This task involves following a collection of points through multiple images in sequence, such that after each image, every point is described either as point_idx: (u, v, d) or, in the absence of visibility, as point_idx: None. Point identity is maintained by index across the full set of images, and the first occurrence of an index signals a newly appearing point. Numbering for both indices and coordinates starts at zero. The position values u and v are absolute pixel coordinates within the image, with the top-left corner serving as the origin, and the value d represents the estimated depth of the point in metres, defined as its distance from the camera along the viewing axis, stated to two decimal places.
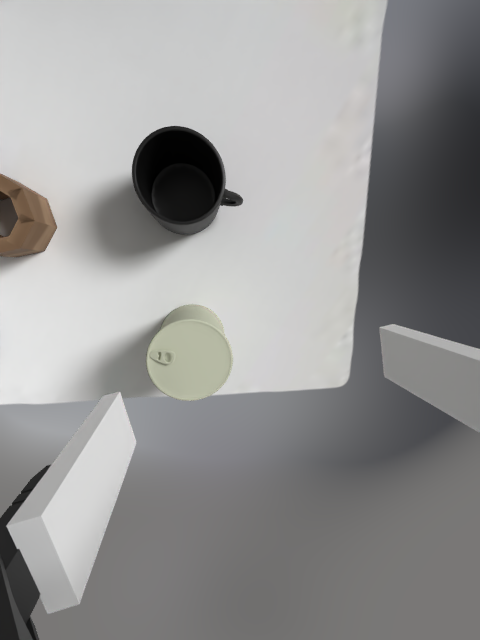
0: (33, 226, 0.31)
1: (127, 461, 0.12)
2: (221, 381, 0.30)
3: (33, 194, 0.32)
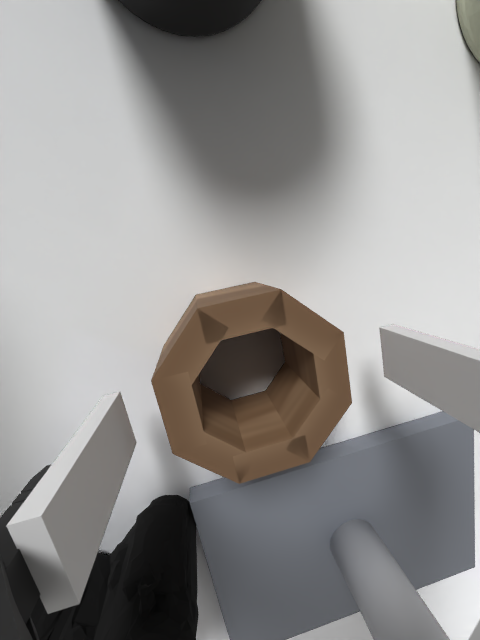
0: None
1: (127, 461, 0.12)
2: None
3: (200, 300, 0.13)
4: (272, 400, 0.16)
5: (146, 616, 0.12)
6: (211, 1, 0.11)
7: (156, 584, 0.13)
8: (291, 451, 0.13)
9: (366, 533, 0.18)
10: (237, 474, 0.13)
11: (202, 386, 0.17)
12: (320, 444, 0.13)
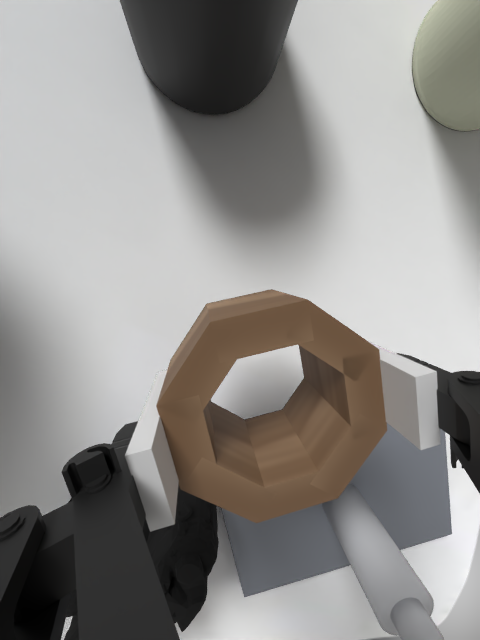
0: None
1: None
2: None
3: (213, 311, 0.11)
4: (291, 421, 0.14)
5: (183, 535, 0.17)
6: (228, 97, 0.17)
7: (189, 515, 0.18)
8: (317, 486, 0.11)
9: (351, 492, 0.23)
10: (254, 512, 0.11)
11: (213, 404, 0.15)
12: (350, 478, 0.11)
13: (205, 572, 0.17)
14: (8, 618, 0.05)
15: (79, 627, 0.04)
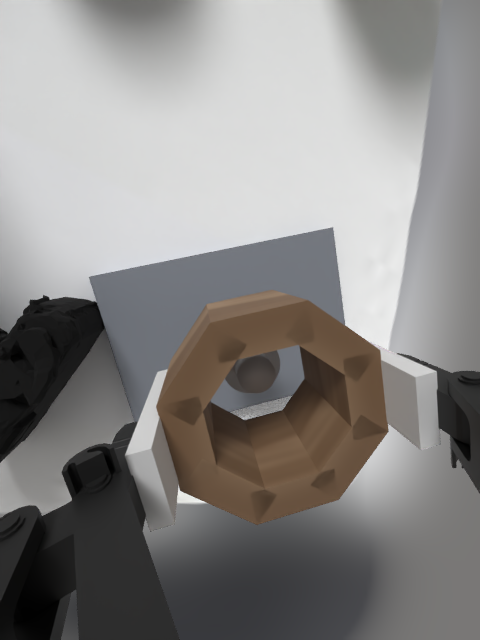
0: None
1: None
2: None
3: (213, 312, 0.11)
4: (291, 422, 0.14)
5: (32, 312, 0.16)
6: None
7: (44, 301, 0.17)
8: (318, 487, 0.11)
9: None
10: (254, 514, 0.11)
11: (213, 405, 0.15)
12: (351, 479, 0.11)
13: (55, 349, 0.16)
14: (8, 618, 0.05)
15: (79, 627, 0.04)
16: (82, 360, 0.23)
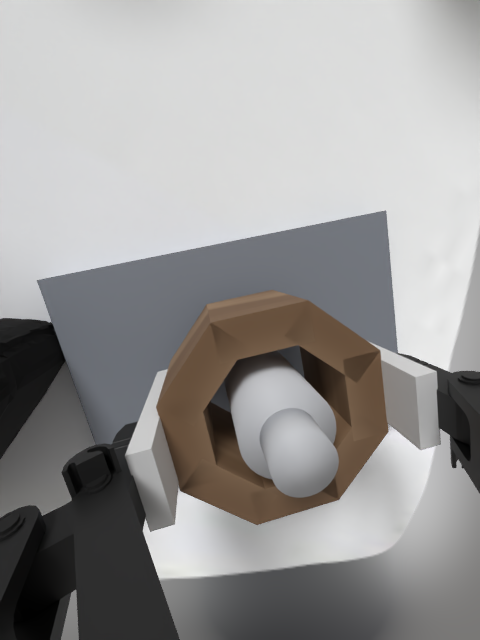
0: None
1: None
2: None
3: (213, 312, 0.11)
4: None
5: None
6: None
7: None
8: None
9: None
10: (254, 514, 0.11)
11: (213, 405, 0.15)
12: (351, 479, 0.11)
13: None
14: (8, 618, 0.05)
15: (79, 627, 0.04)
16: (36, 405, 0.16)
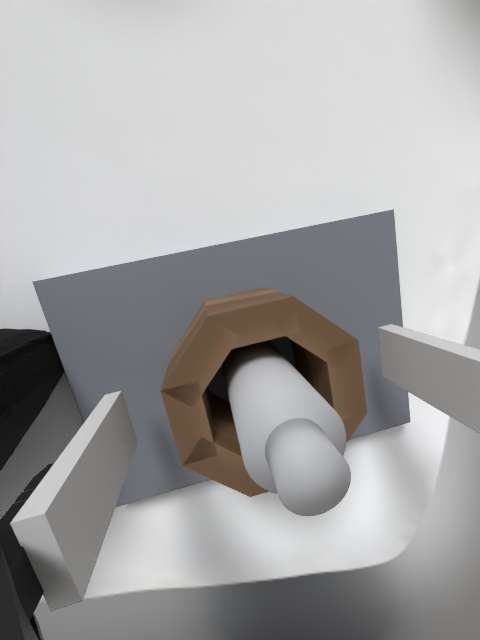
0: None
1: (128, 460, 0.12)
2: None
3: (210, 307, 0.13)
4: None
5: None
6: None
7: None
8: None
9: None
10: (248, 487, 0.12)
11: (211, 394, 0.16)
12: None
13: None
14: None
15: None
16: (35, 417, 0.16)
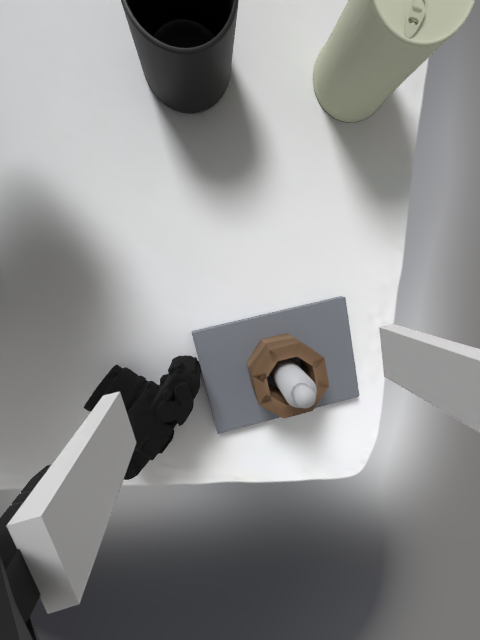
0: (303, 344, 0.31)
1: (127, 461, 0.12)
2: None
3: (267, 345, 0.32)
4: None
5: (179, 373, 0.30)
6: (198, 103, 0.29)
7: (182, 365, 0.30)
8: None
9: None
10: (283, 414, 0.32)
11: None
12: (316, 403, 0.32)
13: (191, 394, 0.29)
14: None
15: None
16: None
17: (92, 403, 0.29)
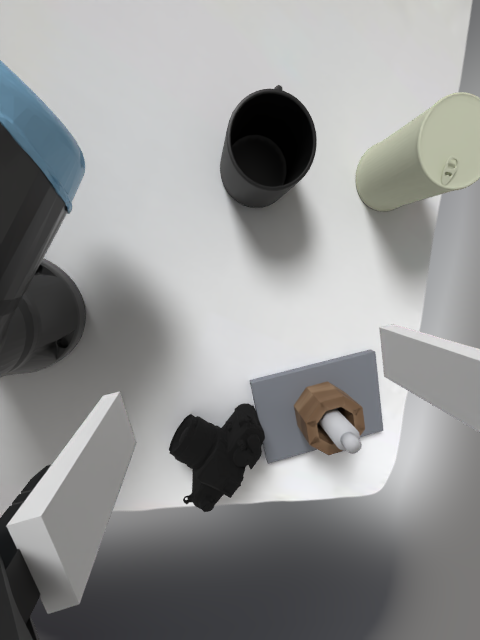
0: (346, 397, 0.39)
1: (127, 461, 0.12)
2: None
3: (315, 395, 0.40)
4: None
5: (249, 427, 0.37)
6: (266, 204, 0.36)
7: (251, 419, 0.37)
8: None
9: None
10: (328, 452, 0.39)
11: None
12: None
13: (260, 443, 0.37)
14: None
15: None
16: None
17: (180, 451, 0.36)
